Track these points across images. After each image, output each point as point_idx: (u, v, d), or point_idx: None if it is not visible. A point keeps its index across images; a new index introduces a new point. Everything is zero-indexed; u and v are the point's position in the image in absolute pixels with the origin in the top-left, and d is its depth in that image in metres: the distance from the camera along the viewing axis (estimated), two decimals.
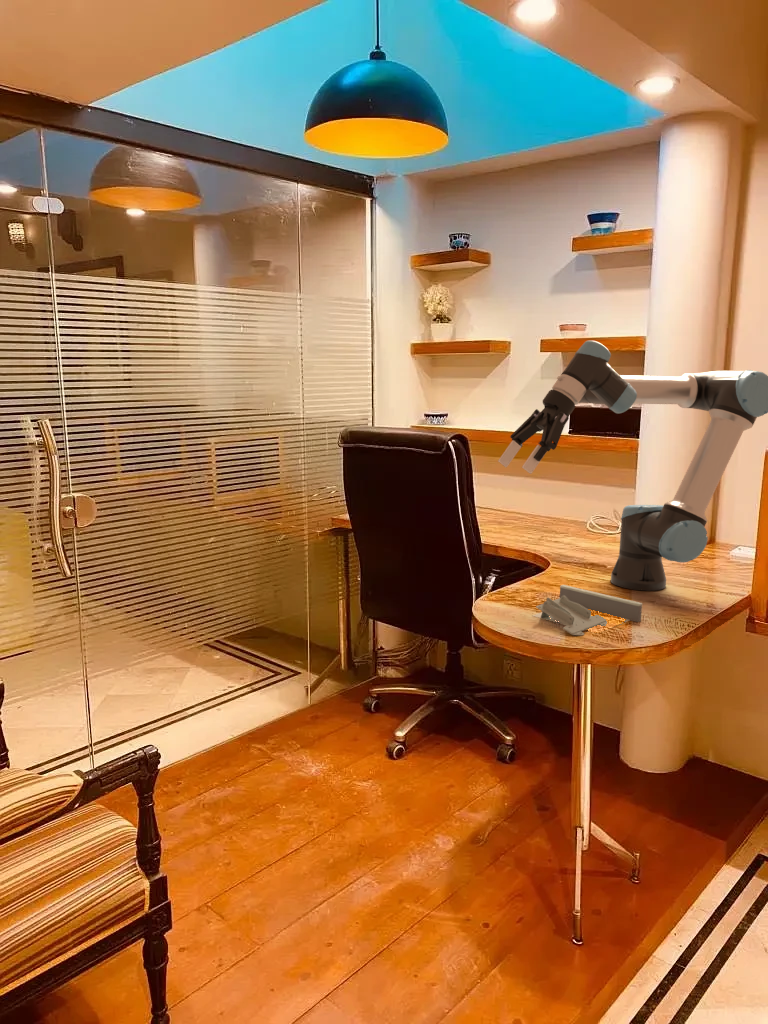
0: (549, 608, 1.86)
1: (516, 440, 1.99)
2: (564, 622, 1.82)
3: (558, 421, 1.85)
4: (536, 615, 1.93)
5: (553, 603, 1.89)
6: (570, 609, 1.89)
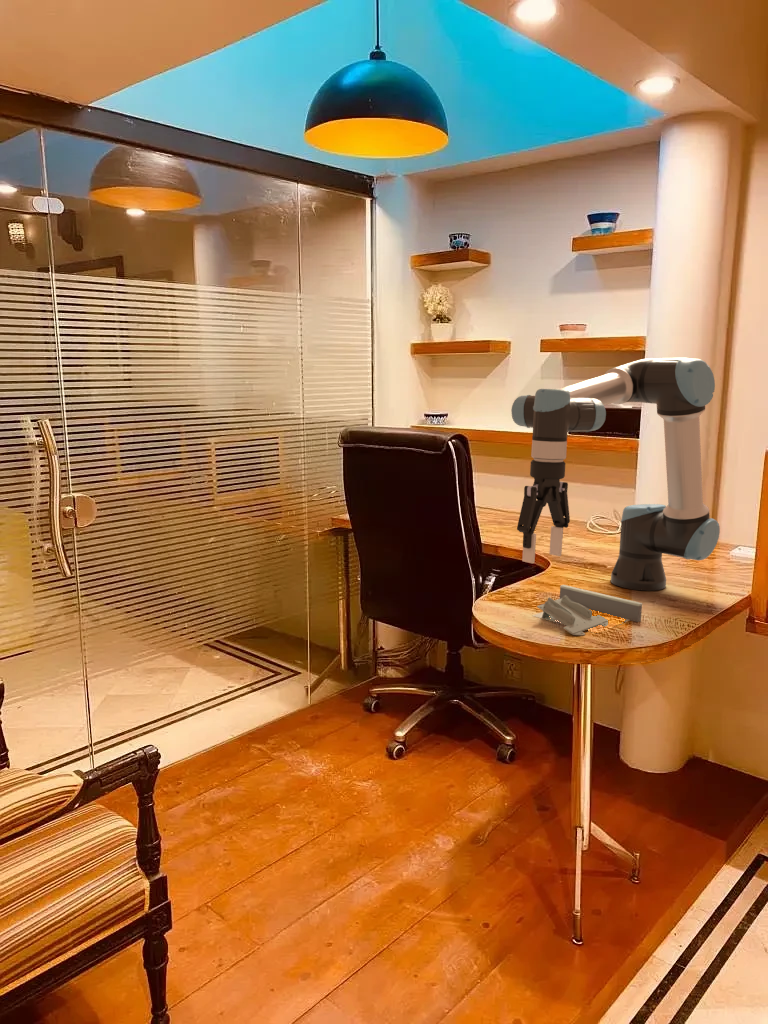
0: (550, 608, 1.86)
1: (556, 524, 1.78)
2: (565, 622, 1.82)
3: (524, 498, 1.69)
4: (536, 615, 1.93)
5: (554, 603, 1.89)
6: (571, 609, 1.89)
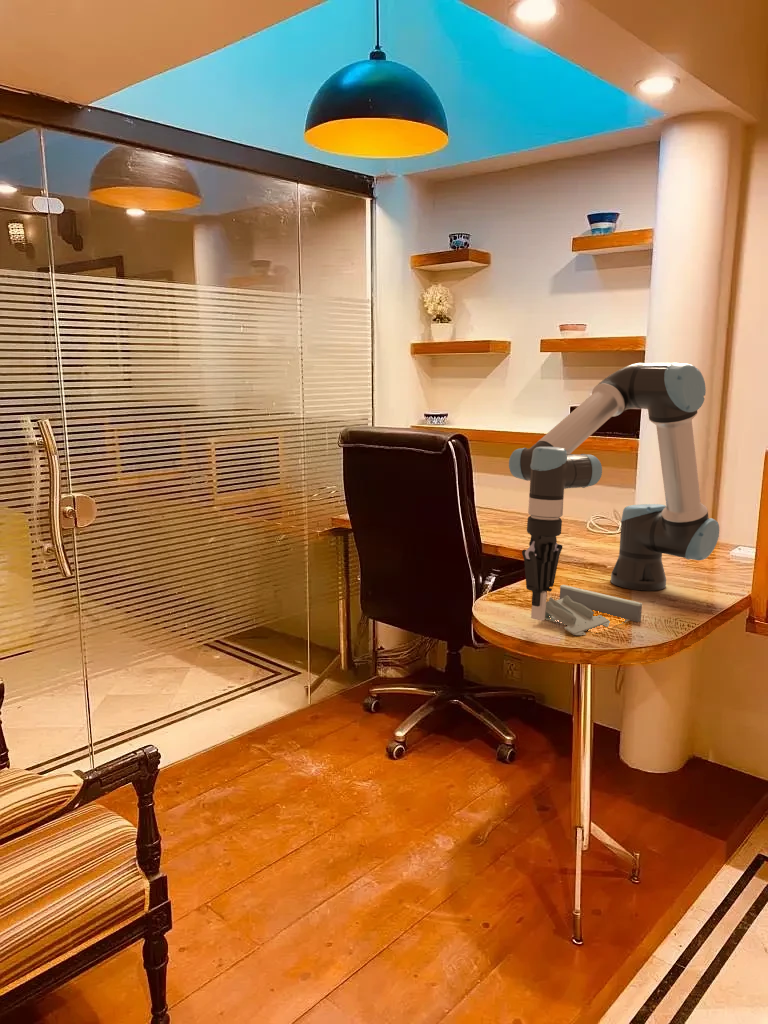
0: (551, 608, 1.86)
1: None
2: (566, 623, 1.82)
3: (525, 561, 1.72)
4: None
5: (556, 603, 1.89)
6: (573, 609, 1.89)
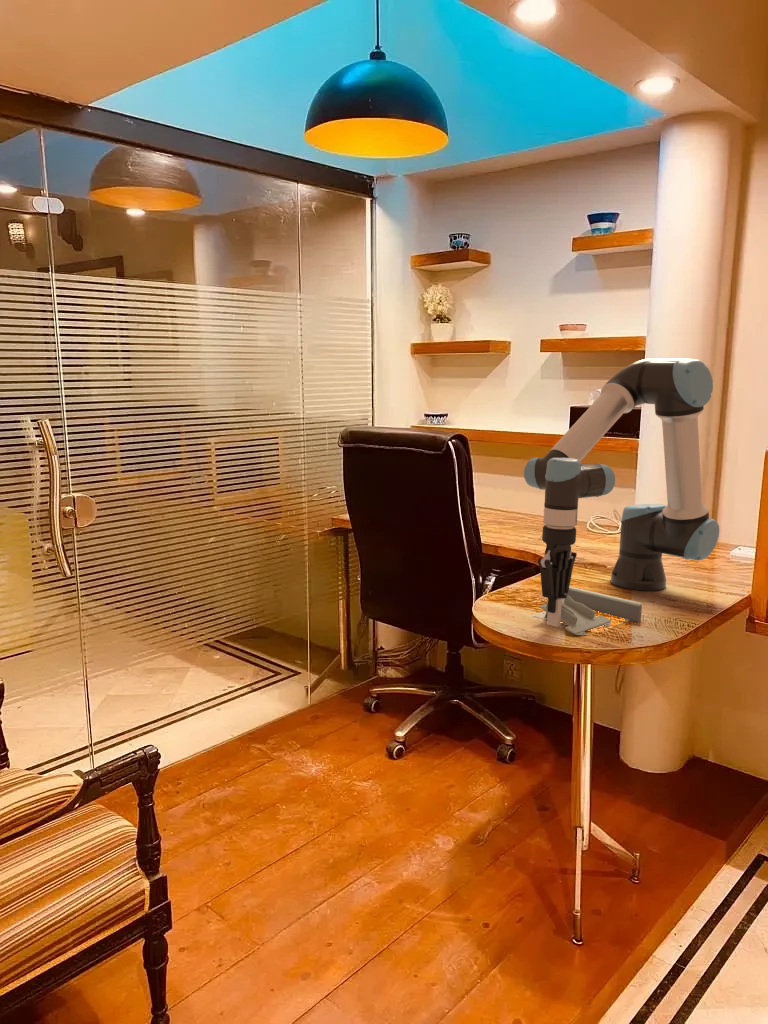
0: None
1: None
2: (567, 622, 1.82)
3: (541, 569, 1.77)
4: (536, 615, 1.93)
5: None
6: (574, 609, 1.89)
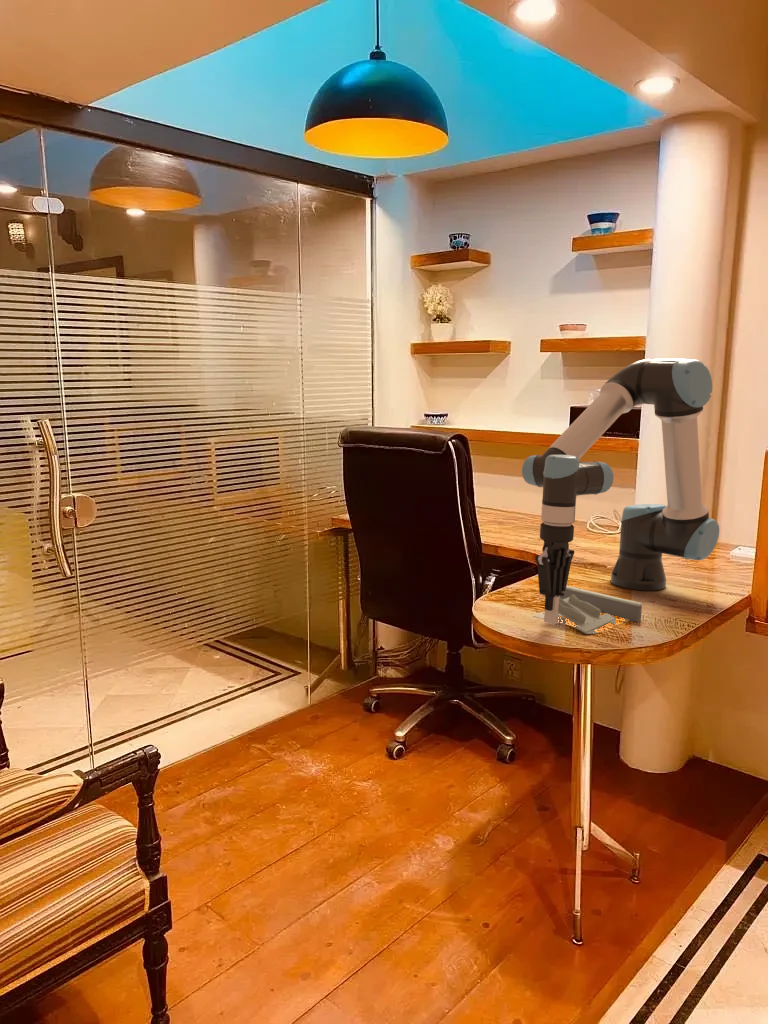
0: (560, 607, 1.86)
1: None
2: (576, 622, 1.83)
3: (538, 566, 1.76)
4: (536, 615, 1.93)
5: (563, 602, 1.90)
6: (580, 608, 1.90)
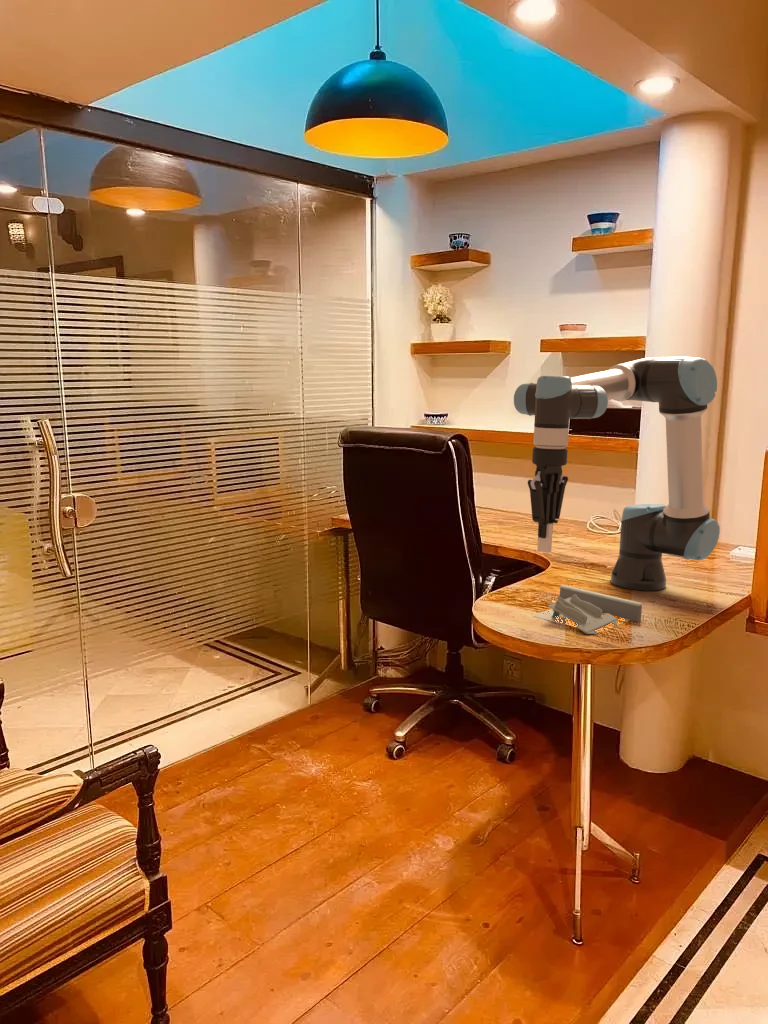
0: (561, 607, 1.86)
1: None
2: (578, 621, 1.83)
3: (531, 491, 1.71)
4: (536, 615, 1.93)
5: (564, 602, 1.90)
6: (581, 608, 1.90)
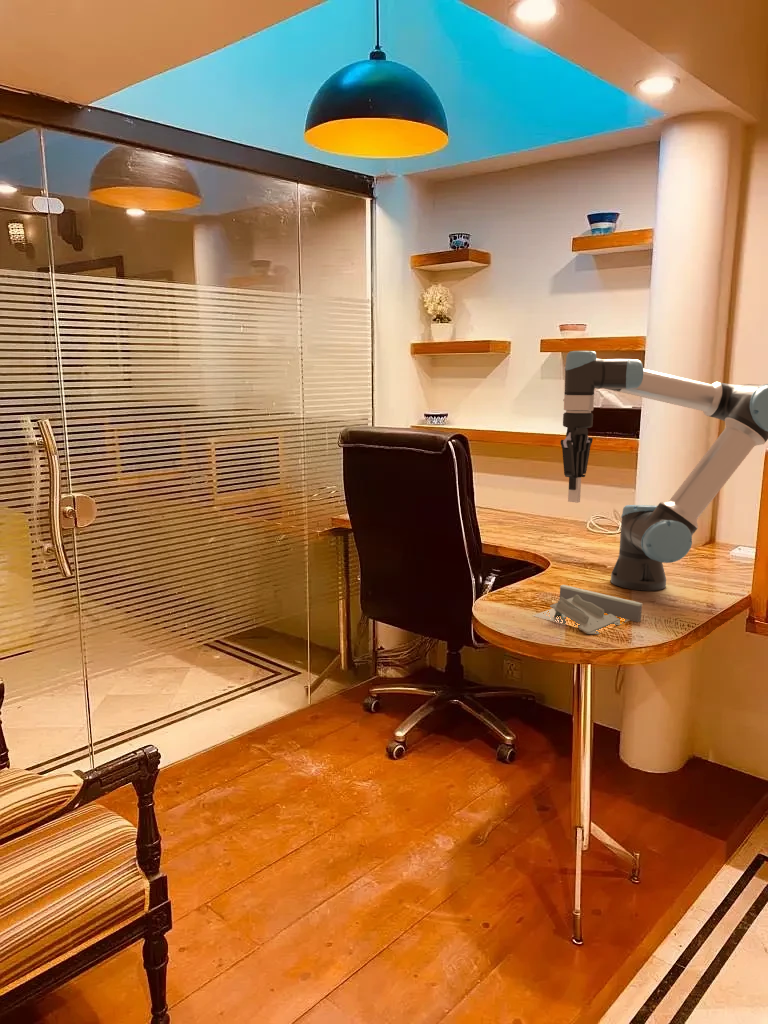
0: (563, 607, 1.87)
1: None
2: (579, 622, 1.83)
3: (563, 450, 2.01)
4: (536, 615, 1.93)
5: (566, 602, 1.90)
6: (583, 608, 1.90)
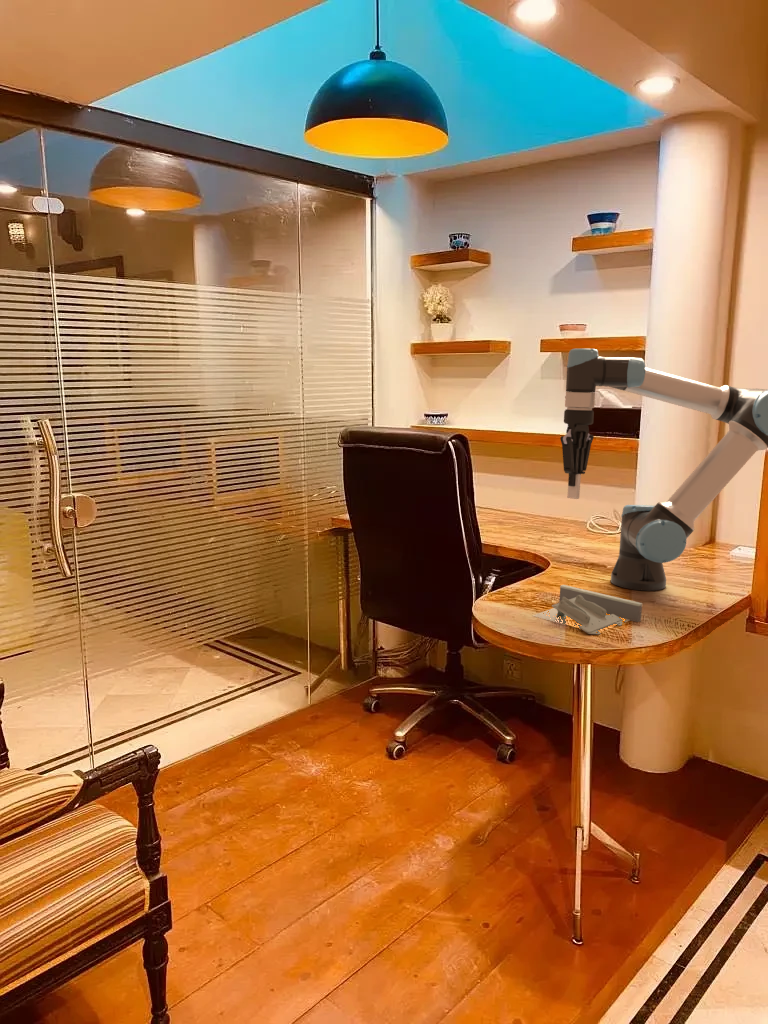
0: (565, 607, 1.87)
1: None
2: (580, 622, 1.83)
3: (563, 446, 2.03)
4: (536, 615, 1.93)
5: (569, 602, 1.90)
6: (586, 608, 1.90)
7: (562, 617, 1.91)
